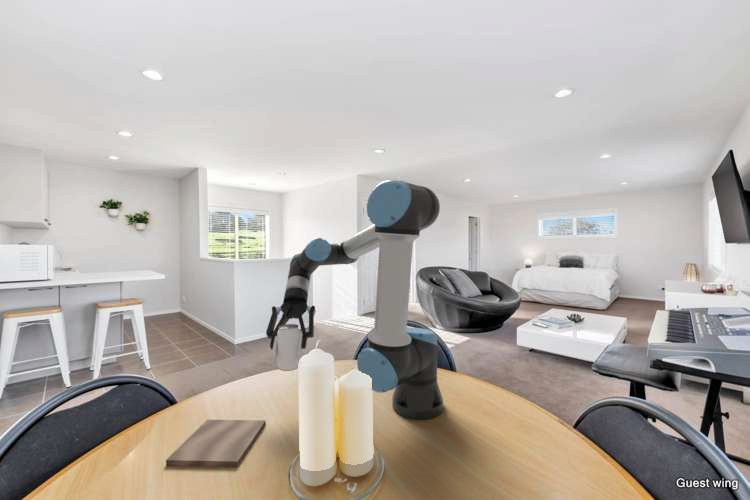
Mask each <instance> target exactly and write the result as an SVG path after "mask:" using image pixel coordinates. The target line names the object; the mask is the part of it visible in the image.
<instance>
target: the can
mask: <svg viewBox="0 0 750 500" xmlns="http://www.w3.org/2000/svg"><path fill="white" fill-rule="evenodd" d="M300 336H301V329H300V328H299V325H298V324H296V323H295V324H293V323H289V324H287V323H286V324H285V325H281V326H279V330H278V332H277V369H279V371H283V372H291V371H295V370H297V369H299V368H298V363H299V361H298V359H297V351H298V344H299V338H300Z"/></svg>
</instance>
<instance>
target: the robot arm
mask: <svg viewBox="0 0 750 500" xmlns="http://www.w3.org/2000/svg"><path fill="white" fill-rule="evenodd" d="M440 209H441V206H440V201H439V198H438V196H437V195H436V193H435V192H434V191H433V190H432V189H430V188H428V187H426V186H422V185H417V184H413V183H410V182H407V181H403V180H399V179H398V180H397V179H395V180H394V179H387V180H384V181H381V182H379V183H378V184H377V185H376V187H375V188H373V189H372V190H371V192H370V194H369V195H368V199H367V202H366V214H367V217H368V218H369V221H370V222H371V223H372V224H371V225H370V226H368V227H366V228H365V229H363V230H362V231H359V232H358V233H356V234H354V235H352V236H351V237H349V238H347V239H346V240H344V241H341V242H340V243H329V242H328V241H327V239H323V238H322V237H315V238H312V240H311V241H310V242H309V243H308V244H306V246H305V248H304V249H303V250H302V251H301V252H300V253H297V254H294V255H293V256H292V258H291V261H290V263H289V269H288V270H289V271H288V275H287V281H286V286H285V290H284V291H285V292H284V296H283V301H282V304H281V305H280V306H278V307H276V306H272V307H271V316H270V317H269V318H270V319H269V322H268V326H267V328H266V332H265V334H266V337H267V339H271V340H270V345H269V347H270V350H272V351H271V357H270V358H271V360H272V363H273V362H274V363H275V362H276V361H277V358H278V356H277V332H278V330H279V326H281V325H286V324H287V323H288V322H289V320H292V319H297V320H298V322H299V326H300V332H301V334H302V335H300V338H299V344H298V351H297V359H298V361H299V359H300V358H301V359H302V353H303V350H306V348H307V343H308V339H309V338H314V335H315V334H314V331H315V329H314V327H315V326H314V324H315V321H314V319H315V314H316V312H317V311H316V306H315V305H311V306H309V305H308V298H309V295H308V294H309V291H310V281H311V276H312V274H313V273H314V272H315V271H316V270H317V269H318V268H319V267H320V266H321V267H322V266H334V265H335V266H336V265H350V264H354V263H356V262H357V261H358V259H359V258H360V257H362V256H364V255H366V254H368V253H371V252H373V251H374V250H377V249H378V250H379V252H378V261H377V262H378V266H377V277H376V278H377V280H376V295H375V308H374V309H375V310H374V311H375V312H374V325H373V326H374V327H373V330H371V331H370V332H369V333H368V335H367V346H366V347H365V348H363V349H362V350H361V351H360V352H359V353H358V356H357V360H356V361H357V362H356V363H357V371H358V370H359V371H361V372H362V373H365V374H367V375H369V376H370V377H371V378H372V389H371V390H372V391H374V392H376V393H380V394H382V393H386V392H389V391H393V390H394V391H393V395H392V404H391V405H392V409H393V410H394V411H395V412H396V413H397V414H399V415H401V416H403V417H405V418H409V419H413V420H430V419H432V418H435V417H437V416H439V415H441V413H442V412H443V410H444V399H443V395H442V393H441V389H440V386H439V383H438V345H439V344H438V339H437V338H438V337H437V334H436V332H434V331H433V330H431V329H426V328H421V327H412V326H409V327H408V317H409V316H408V315H409V314H408V313H409V303H410V301H409V300H410V289H411V287H410V286H411V274H412V261H413V260H412V259H413V248H414V247H413V246H414V245H413V244H414V242H415V241H416V239H418V238H419V237H420V232H421V231H422V230H425V229H427V228H429V227H430V226H432V225H433V224H434V223H435V222H436V221H437V219H438V217H439V214H440ZM280 312H282V314H281V318H280V320H279V321H278V323H277V320H278V315H280ZM306 312H307V313H308V331H307V329H306V326H305V324H304V323H305V321H304V319H303V315H304V314H305V313H306ZM276 323H277V324H276ZM359 371H358V372H359Z"/></svg>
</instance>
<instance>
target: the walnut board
mask: <svg viewBox="0 0 750 500" xmlns="http://www.w3.org/2000/svg"><path fill="white" fill-rule="evenodd" d="M265 426H266V420H262V419H261V420H260V419H259V420H257V419H256V420H255V419H247V420H246V419H206V420H205V421H204V422H203V423H202V424H201V425H200V426H199V427H198V428H197V429H196V430H195V431H193V433H192V434H191V435H190V436H189V437H188V438H187V439H186V440H185V441H184V442H183V443H182V444H180V446H178V448H177V449H176V450H175V451H174V452H173V453H172V454H171V455H169V456H168V458H166V460H165V465H166V466H171V467H173V466H175V467H177V466H179V467H181V466H182V467H219V468H220V467H227V468H232V467H233V468H238V467H239V466H240V464H241V463H242V461H243V460H244V459H245V456H246V455H247V453H248V452H249V450H250V449H251V447H252V446H253V444H254V443H255V441H257V438H258V437H259V435H260V434H261V432H262V431H263V429H264V428H265Z"/></svg>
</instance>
